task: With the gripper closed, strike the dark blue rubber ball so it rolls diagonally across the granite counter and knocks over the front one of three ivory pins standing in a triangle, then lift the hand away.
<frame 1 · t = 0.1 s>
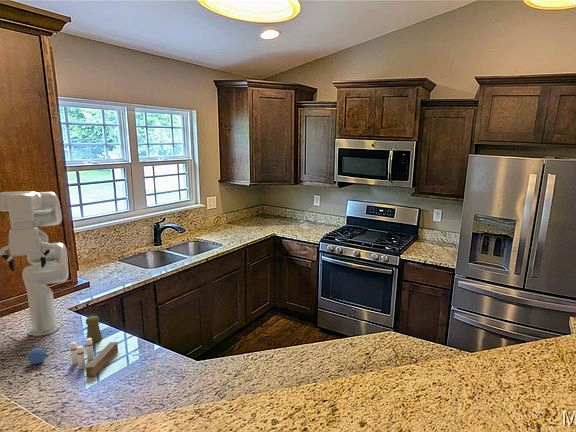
hand: (28, 268, 144), 37 cm above the worktop, tool pointing down, fingers open, 9 cm apart
front pin: (75, 363, 143), on the worktop
back right pin: (82, 367, 140), on the worktop
back left pin: (90, 358, 146), on the worktop
ball: (36, 355, 143), on the worktop
cork: (94, 340, 161), on the worktop
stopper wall: (103, 363, 143), on the worktop
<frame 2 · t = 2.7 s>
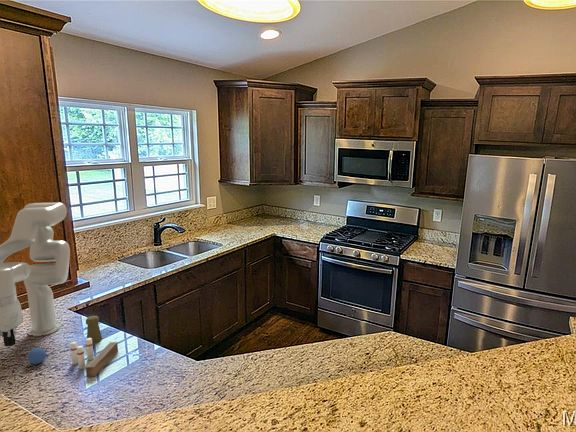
hand: (10, 345, 142), 8 cm above the worktop, tool pointing down, fingers closed
nothing on the worktop moved.
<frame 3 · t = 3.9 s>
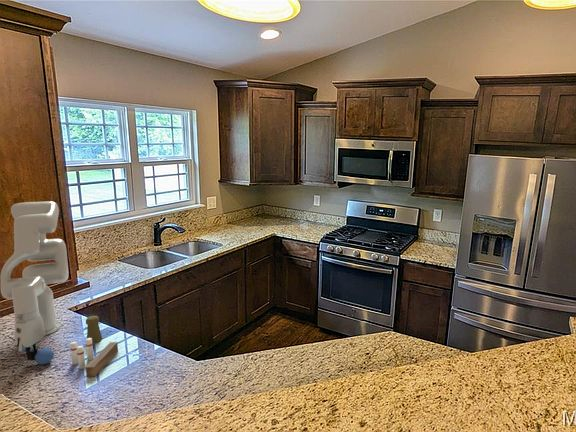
hand: (32, 359, 143), 2 cm above the worktop, tool pointing down, fingers closed
ball: (44, 356, 143), on the worktop
everything else where it was.
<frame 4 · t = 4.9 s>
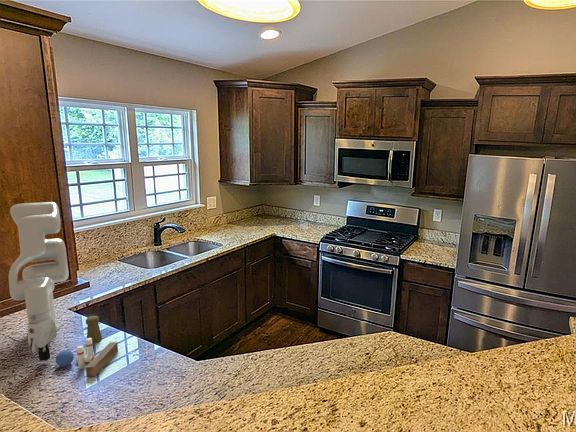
hand: (44, 359, 143), 2 cm above the worktop, tool pointing down, fingers closed
front pin: (77, 360, 144), point 1 cm above the worktop, tilted 90°
ball: (64, 358, 141), on the worktop
everything else where it was.
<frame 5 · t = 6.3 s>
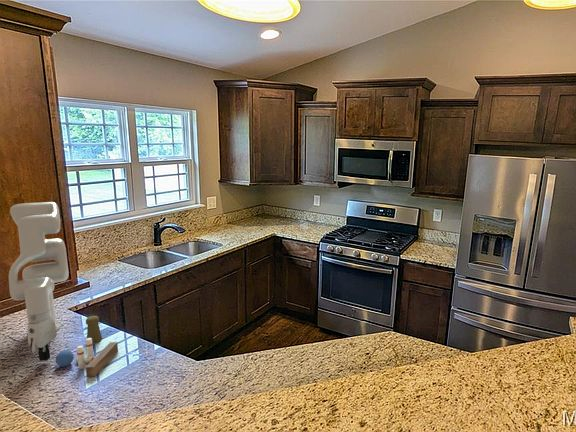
hand: (44, 359, 143), 2 cm above the worktop, tool pointing down, fingers closed
nothing on the worktop moved.
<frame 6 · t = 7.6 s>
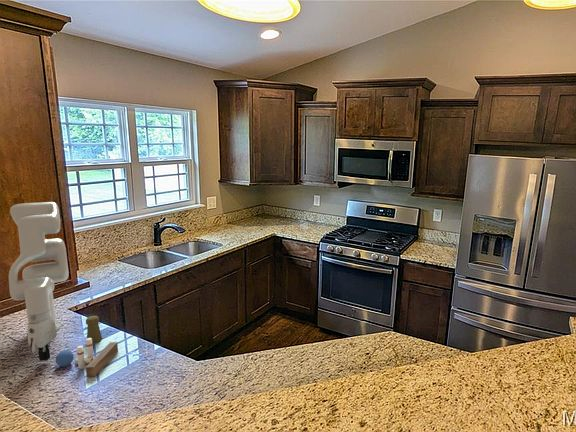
hand: (44, 359, 143), 2 cm above the worktop, tool pointing down, fingers closed
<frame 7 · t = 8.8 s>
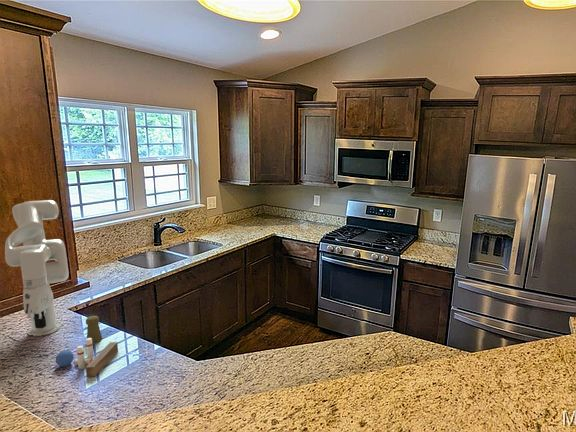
hand: (40, 327, 141), 15 cm above the worktop, tool pointing down, fingers closed
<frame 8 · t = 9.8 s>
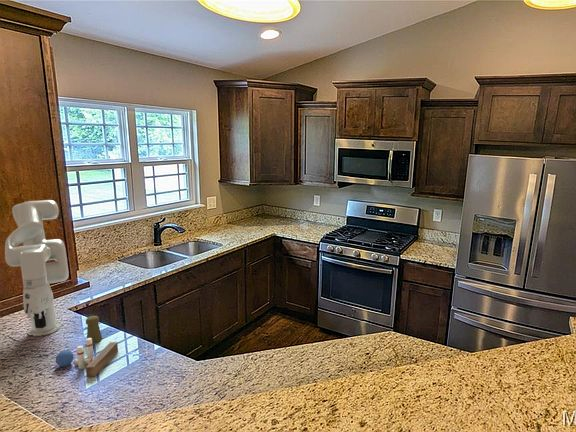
hand: (40, 326, 141), 15 cm above the worktop, tool pointing down, fingers closed
at the end: front pin tilted 90°; front pin never touched the robot; ball moved 12.1 cm from its start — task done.
